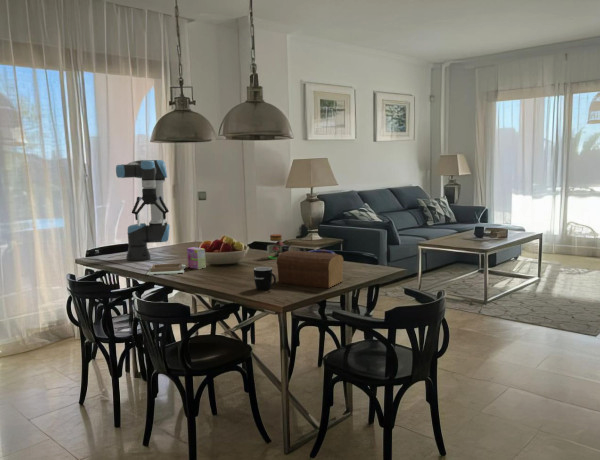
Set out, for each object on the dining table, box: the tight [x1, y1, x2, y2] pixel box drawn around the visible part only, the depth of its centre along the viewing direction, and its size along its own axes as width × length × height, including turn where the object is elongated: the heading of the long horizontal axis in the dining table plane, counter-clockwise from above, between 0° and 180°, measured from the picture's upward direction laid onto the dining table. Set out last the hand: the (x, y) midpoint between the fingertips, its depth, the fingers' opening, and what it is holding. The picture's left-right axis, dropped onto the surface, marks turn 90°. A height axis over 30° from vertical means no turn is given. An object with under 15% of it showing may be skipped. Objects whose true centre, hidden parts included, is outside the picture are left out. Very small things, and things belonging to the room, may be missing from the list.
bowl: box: [307, 249, 336, 254], centre depth 301 cm, size 18×18×10 cm
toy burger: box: [266, 233, 284, 260], centre depth 339 cm, size 12×13×15 cm
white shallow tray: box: [146, 262, 186, 276], centre depth 303 cm, size 22×20×3 cm
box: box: [186, 246, 207, 270], centre depth 310 cm, size 10×6×12 cm, turn 47°
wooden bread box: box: [276, 250, 344, 289], centre depth 266 cm, size 18×30×16 cm, turn 61°
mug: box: [253, 266, 277, 291], centre depth 254 cm, size 12×9×10 cm
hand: (151, 225), depth 295 cm, fingers open, 13 cm apart
